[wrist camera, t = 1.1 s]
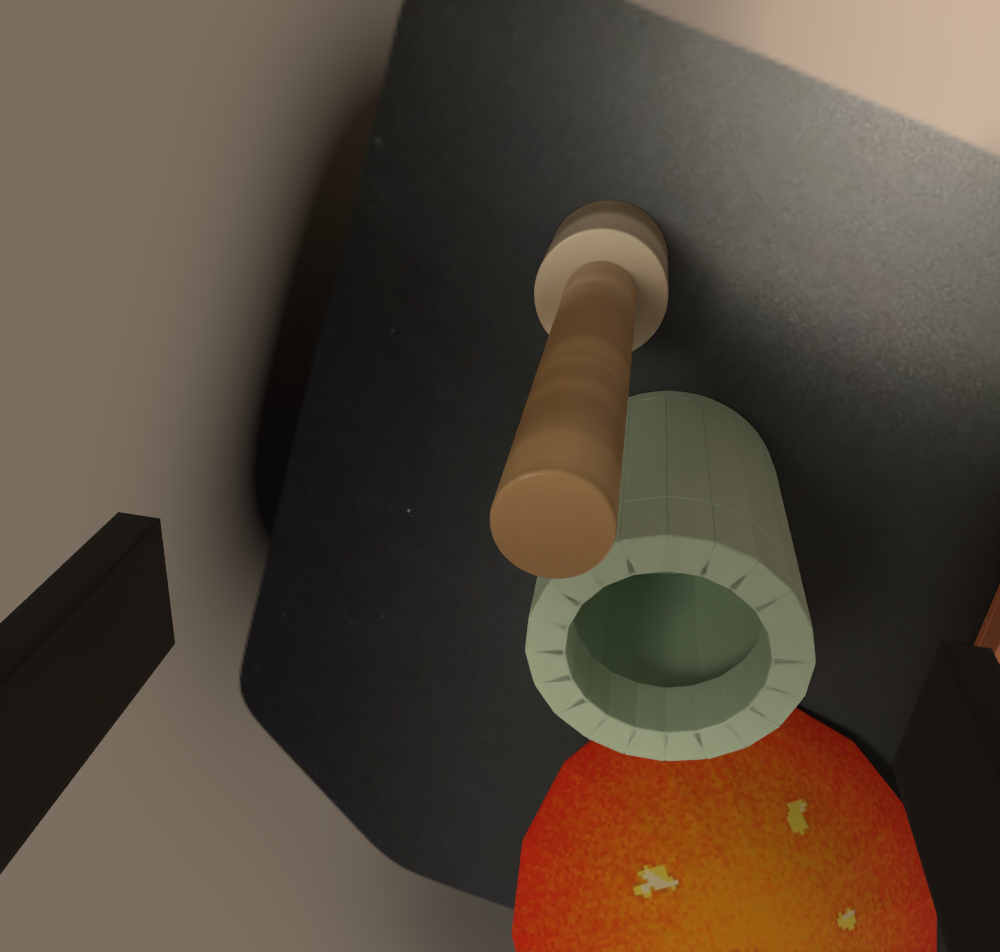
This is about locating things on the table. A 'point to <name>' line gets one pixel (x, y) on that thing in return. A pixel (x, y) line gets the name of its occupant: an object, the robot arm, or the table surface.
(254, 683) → the table surface
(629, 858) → the decorative mushroom
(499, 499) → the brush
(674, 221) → the table surface
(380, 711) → the table surface
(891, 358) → the table surface
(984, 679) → the robot arm
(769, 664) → the jar
